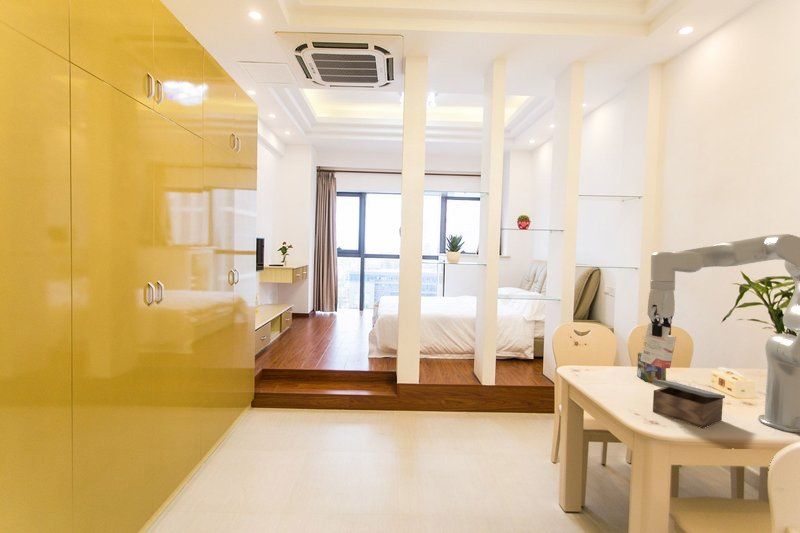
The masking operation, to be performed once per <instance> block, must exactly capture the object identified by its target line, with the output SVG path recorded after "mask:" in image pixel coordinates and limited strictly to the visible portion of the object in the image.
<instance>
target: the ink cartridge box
mask: <svg viewBox="0 0 800 533" xmlns="http://www.w3.org/2000/svg"><path fill="white" fill-rule="evenodd" d="M651 323H652V322H648V325H647V328H646V330H645V336H644V341H643V346H642V351H641V353H642V355H641V361H643V362H646V363H649V364H651V365H654V366H657V367H660V368H666V369H671V365H672V361H673V355H674V351H675V345H676V339H677V337H676V336H673V335H669V332H670V328H668V327H664V326H662V337H657V336H652V324H651Z"/></svg>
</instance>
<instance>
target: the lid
mask: <svg viewBox="0 0 800 533" xmlns="http://www.w3.org/2000/svg"><path fill="white" fill-rule="evenodd" d="M651 383H655V384H658V385H661V386H664V387H672V388H675V389H679V390H683V391H686V392H690V393H693V394H697V395H701V396H704V397H714V398H723V399H725V398H726V395H724V394H722V393H721V394H720V393H718V392H717V393H716V392H713V391H708V390H705V389H701V388H697V387H694V386H691V385H690V386H689V385H686V384H683V383H680V382H675V381H671V380H670V381H669V380H666V381H663V380H654V379H652V382H651Z"/></svg>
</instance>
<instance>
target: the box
mask: <svg viewBox="0 0 800 533" xmlns="http://www.w3.org/2000/svg"><path fill="white" fill-rule="evenodd" d="M723 402H724V398H714V397H704V396H701V395H697V394H693V393H690V392H686V391H683V390H679V389H675V388H672V387H668V386H664V387H661V388H658V389H654V390H653V399H652V413H654V414H658V415H660V416H664V417H667V418H670V419H674V420H676V421H679V422H682V423H685V424H688V425H691V426H693V427H697V428H699V427H700V429H705V427H706V428H708V427H710V426H713V425H715V424H717V423H719V422H721V421H722V418H723Z"/></svg>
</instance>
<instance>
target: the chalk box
mask: <svg viewBox="0 0 800 533" xmlns="http://www.w3.org/2000/svg"><path fill="white" fill-rule="evenodd" d="M641 355H642V352H638V353H637V375H636V376H637V377H638V378H639V379H640V380H642V381H643V382H646V383H647V382H648V383H649V382H650V383H653V382H652V379H654V380H663V381H667V368H660V367H657V366H654V365H651V364H649V363H646V362H643V361H641Z"/></svg>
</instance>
